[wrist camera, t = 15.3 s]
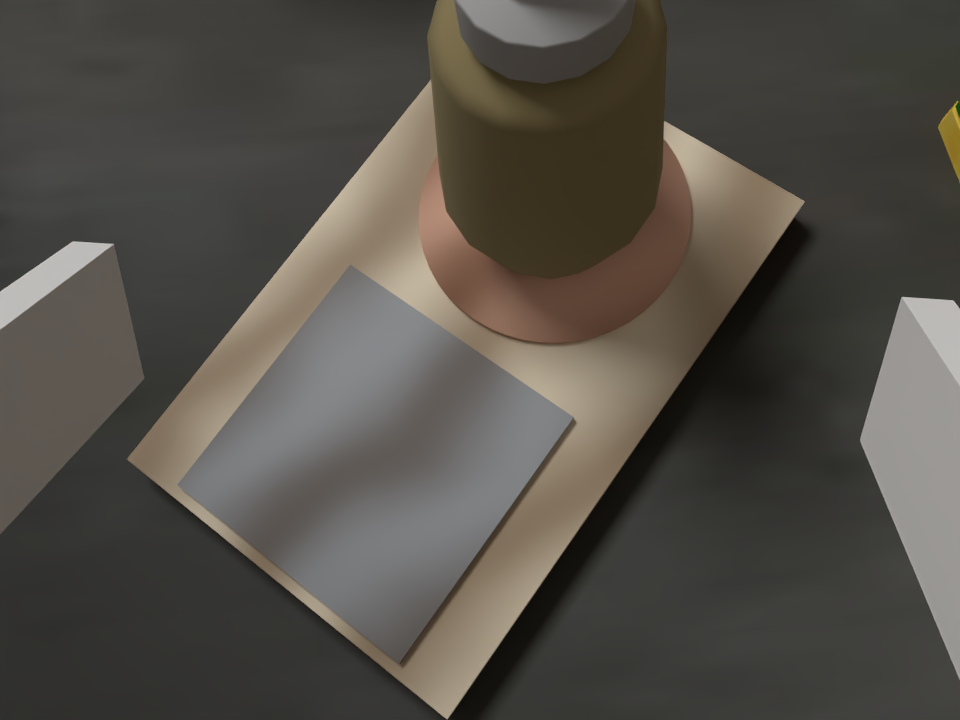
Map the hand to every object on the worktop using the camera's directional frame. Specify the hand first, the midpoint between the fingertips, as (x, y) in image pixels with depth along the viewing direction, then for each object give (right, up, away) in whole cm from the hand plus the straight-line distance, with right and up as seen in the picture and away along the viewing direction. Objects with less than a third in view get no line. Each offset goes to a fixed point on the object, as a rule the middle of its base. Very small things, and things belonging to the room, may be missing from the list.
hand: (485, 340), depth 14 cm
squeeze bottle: (+3, +6, +20) cm, 21 cm away
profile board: (0, 0, +21) cm, 21 cm away
